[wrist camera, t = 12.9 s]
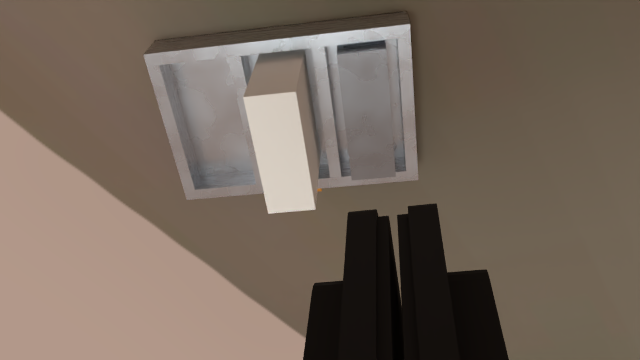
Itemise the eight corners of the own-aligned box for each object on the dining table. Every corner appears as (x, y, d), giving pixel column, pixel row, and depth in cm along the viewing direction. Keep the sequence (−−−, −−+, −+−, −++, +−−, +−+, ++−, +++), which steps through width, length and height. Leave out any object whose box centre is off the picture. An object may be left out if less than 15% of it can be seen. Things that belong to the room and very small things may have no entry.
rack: (406, 11, 38) (411, 29, 35) (415, 164, 44) (419, 191, 41) (155, 40, 40) (138, 60, 37) (195, 184, 46) (184, 211, 43)
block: (304, 48, 39) (295, 91, 33) (320, 154, 43) (315, 209, 37) (259, 53, 39) (243, 97, 33) (279, 157, 43) (268, 213, 37)
